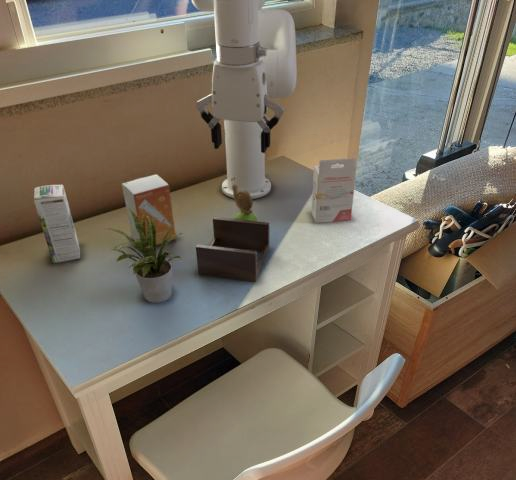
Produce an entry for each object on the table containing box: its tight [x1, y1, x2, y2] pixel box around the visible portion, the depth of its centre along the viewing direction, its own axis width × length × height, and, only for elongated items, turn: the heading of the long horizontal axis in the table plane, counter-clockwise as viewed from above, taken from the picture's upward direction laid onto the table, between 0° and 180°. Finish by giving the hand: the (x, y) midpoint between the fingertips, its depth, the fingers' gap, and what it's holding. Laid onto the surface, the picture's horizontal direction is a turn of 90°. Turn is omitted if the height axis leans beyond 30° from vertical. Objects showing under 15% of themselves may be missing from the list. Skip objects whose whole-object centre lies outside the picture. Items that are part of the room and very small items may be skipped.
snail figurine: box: [231, 177, 258, 221], centre depth 112 cm, size 5×6×12 cm
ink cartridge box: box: [311, 157, 357, 224], centre depth 116 cm, size 9×5×15 cm, turn 97°
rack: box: [195, 216, 270, 283], centre depth 105 cm, size 12×12×6 cm
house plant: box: [102, 209, 184, 304], centre depth 94 cm, size 14×14×16 cm
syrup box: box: [33, 184, 81, 264], centre depth 105 cm, size 6×6×14 cm
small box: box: [121, 173, 177, 246], centre depth 110 cm, size 8×6×13 cm
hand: (241, 148), depth 104 cm, fingers open, 9 cm apart
